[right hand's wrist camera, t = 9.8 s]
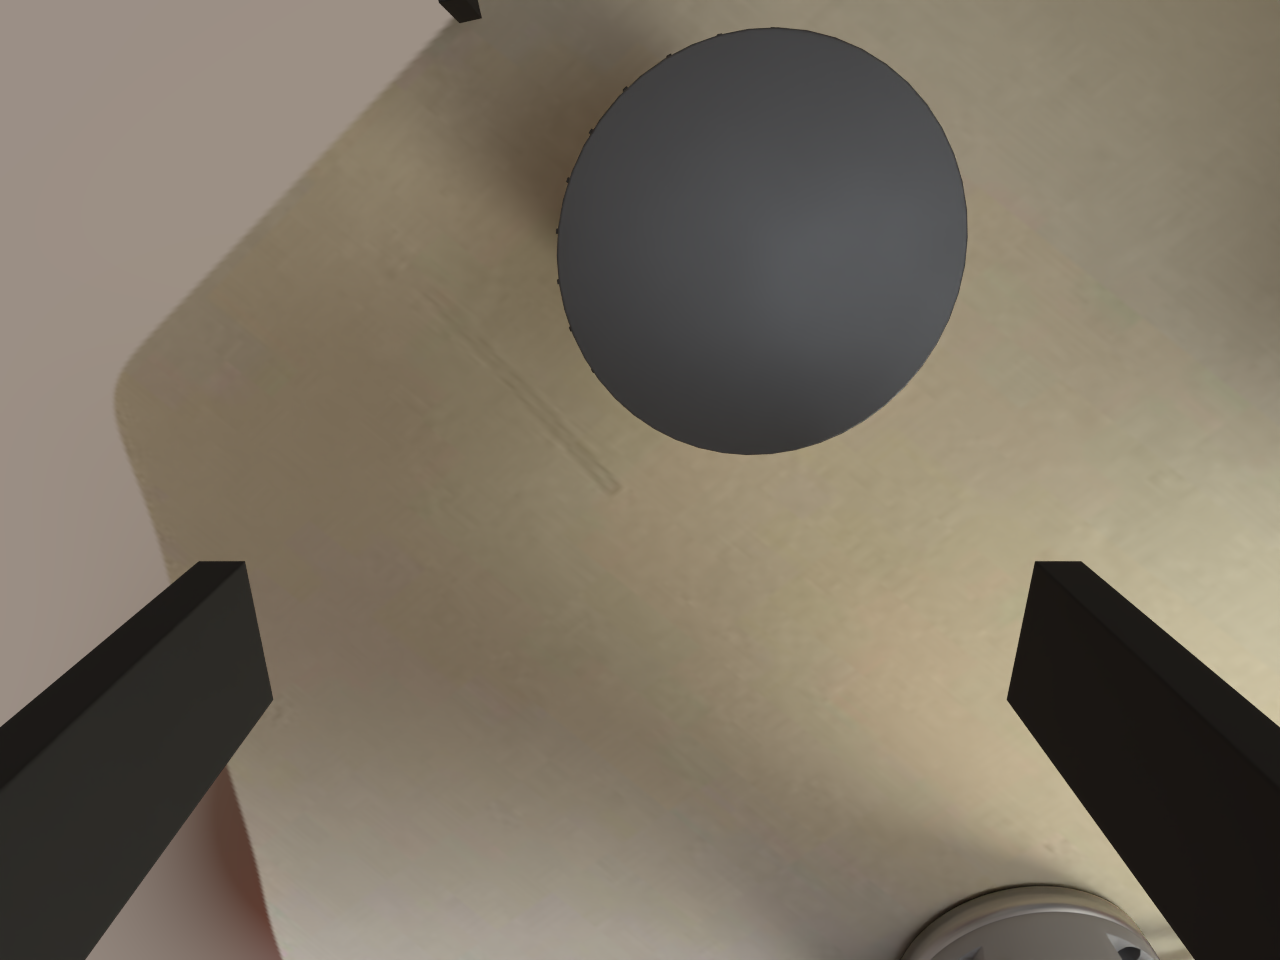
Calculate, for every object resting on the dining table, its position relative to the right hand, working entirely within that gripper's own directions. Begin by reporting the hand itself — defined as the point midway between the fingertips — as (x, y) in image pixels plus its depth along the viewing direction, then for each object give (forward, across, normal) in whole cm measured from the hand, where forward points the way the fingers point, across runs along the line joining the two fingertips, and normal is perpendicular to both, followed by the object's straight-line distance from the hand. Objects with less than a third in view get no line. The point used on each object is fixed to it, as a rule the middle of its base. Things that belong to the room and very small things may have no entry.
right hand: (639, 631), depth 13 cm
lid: (+7, +3, +6) cm, 9 cm away
